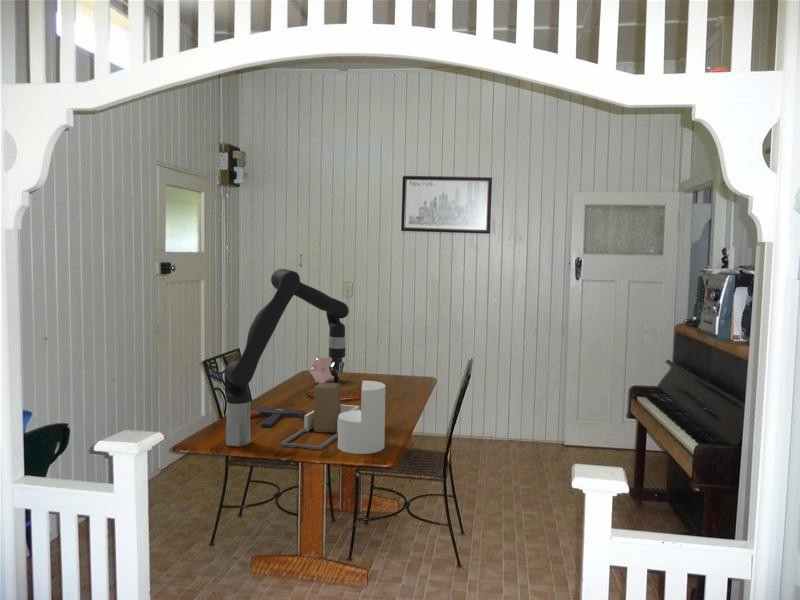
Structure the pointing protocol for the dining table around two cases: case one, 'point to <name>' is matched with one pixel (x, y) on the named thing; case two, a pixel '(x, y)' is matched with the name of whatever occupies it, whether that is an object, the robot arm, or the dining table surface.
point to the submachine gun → (274, 414)
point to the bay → (285, 443)
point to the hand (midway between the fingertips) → (336, 384)
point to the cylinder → (364, 422)
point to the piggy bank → (322, 370)
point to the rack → (310, 416)
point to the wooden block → (326, 407)
